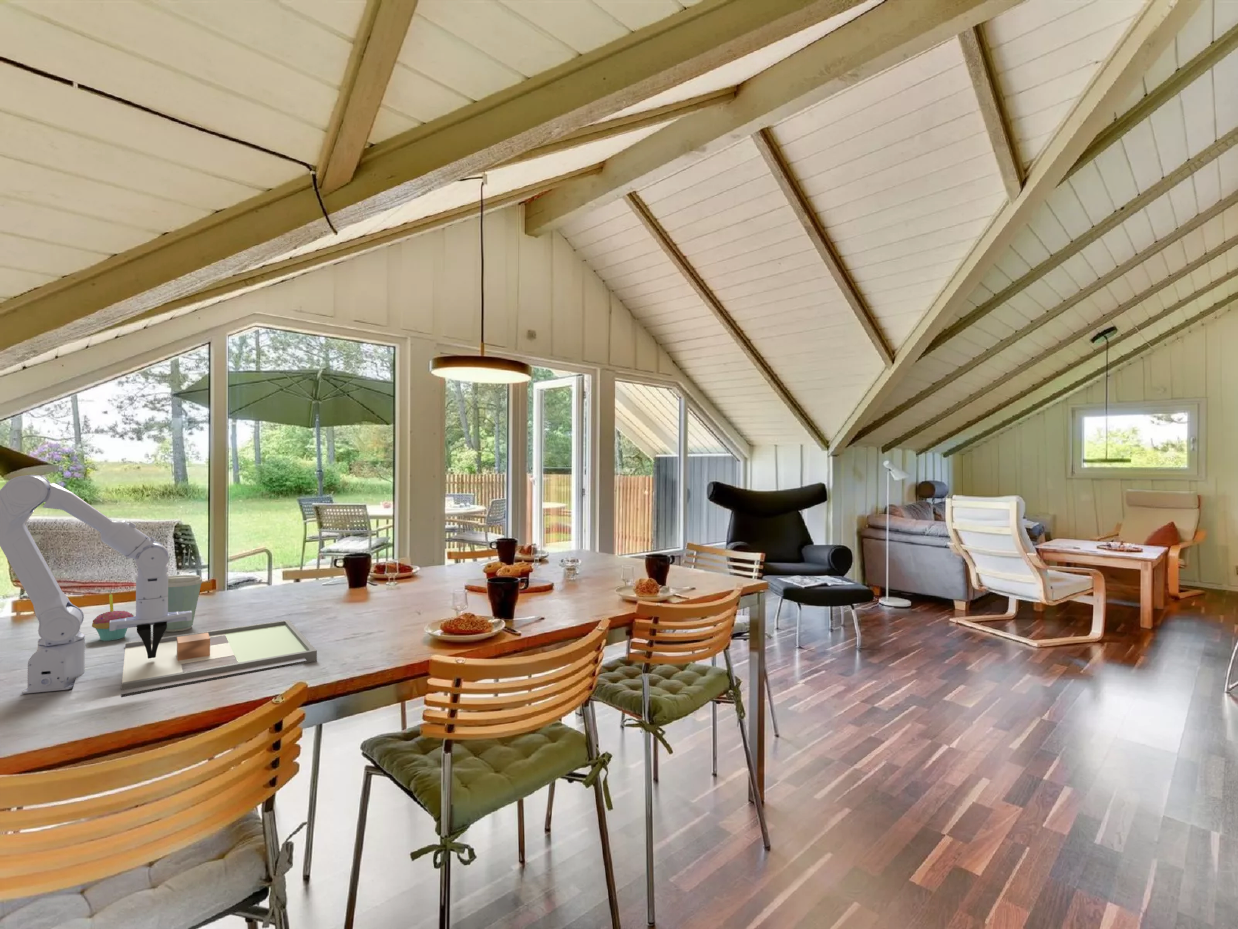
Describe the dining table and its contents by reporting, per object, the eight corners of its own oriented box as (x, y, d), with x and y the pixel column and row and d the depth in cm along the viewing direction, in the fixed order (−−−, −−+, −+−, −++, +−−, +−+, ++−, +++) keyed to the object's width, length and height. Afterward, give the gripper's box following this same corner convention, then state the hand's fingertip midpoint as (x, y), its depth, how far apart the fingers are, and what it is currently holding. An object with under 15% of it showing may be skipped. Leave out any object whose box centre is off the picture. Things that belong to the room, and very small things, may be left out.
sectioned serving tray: (121, 697, 117) (121, 684, 117) (125, 652, 143) (125, 642, 143) (316, 661, 139) (316, 650, 139) (288, 628, 165) (288, 619, 165)
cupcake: (85, 639, 153) (86, 593, 153) (124, 631, 161) (125, 587, 161) (101, 644, 149) (101, 597, 149) (140, 636, 157) (141, 591, 157)
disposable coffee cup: (163, 625, 167) (163, 572, 167) (207, 622, 171) (208, 570, 171) (148, 635, 157) (148, 579, 157) (196, 632, 161) (196, 577, 161)
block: (177, 660, 134) (178, 643, 134) (176, 654, 138) (176, 636, 138) (210, 655, 137) (210, 638, 137) (207, 649, 142) (207, 632, 142)
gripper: (190, 589, 141) (190, 646, 141) (110, 597, 132) (110, 658, 132) (192, 594, 135) (192, 654, 135) (109, 603, 126) (108, 667, 126)
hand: (151, 656), depth 133 cm, fingers closed
